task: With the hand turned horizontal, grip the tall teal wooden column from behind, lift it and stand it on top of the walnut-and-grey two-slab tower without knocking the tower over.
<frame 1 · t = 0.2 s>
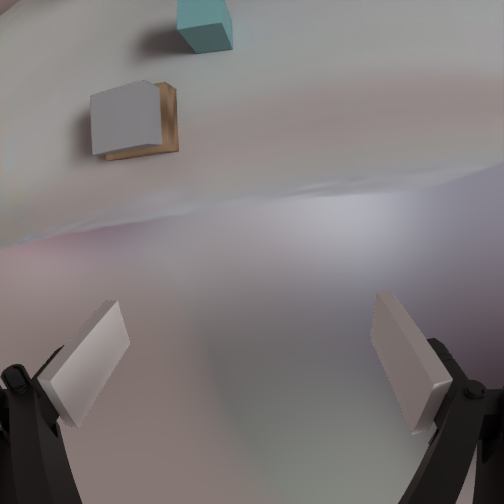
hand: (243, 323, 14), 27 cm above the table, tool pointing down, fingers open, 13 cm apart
tower base: (147, 124, 38), on the table, touching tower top
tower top: (133, 121, 33), point 4 cm above the table, touching tower base
column block: (213, 36, 33), on the table
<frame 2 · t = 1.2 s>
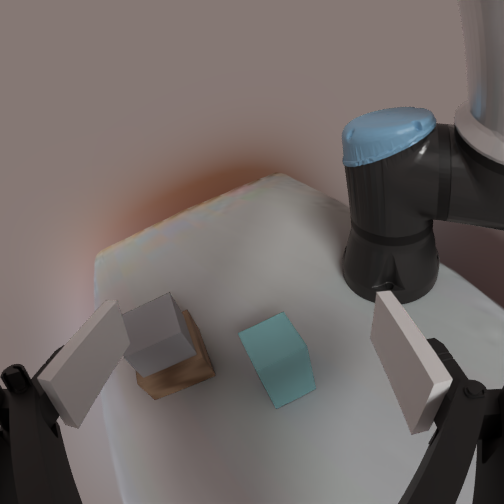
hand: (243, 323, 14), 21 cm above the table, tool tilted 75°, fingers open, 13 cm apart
tower base: (177, 363, 39), on the table, touching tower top
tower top: (164, 345, 36), point 4 cm above the table, touching tower base
column block: (286, 382, 32), on the table
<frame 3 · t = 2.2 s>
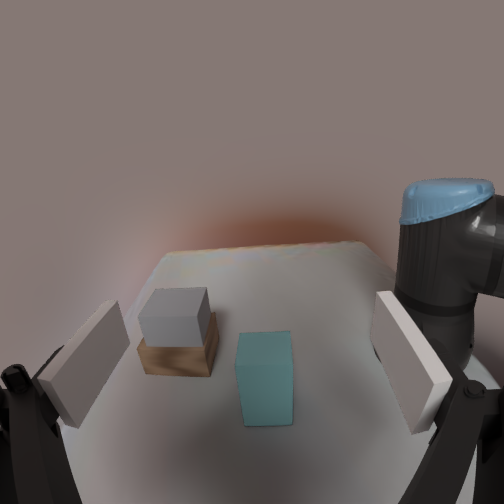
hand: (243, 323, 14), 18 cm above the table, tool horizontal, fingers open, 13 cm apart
tower base: (184, 355, 40), on the table, touching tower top
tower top: (180, 330, 39), point 4 cm above the table, touching tower base
column block: (268, 408, 30), on the table
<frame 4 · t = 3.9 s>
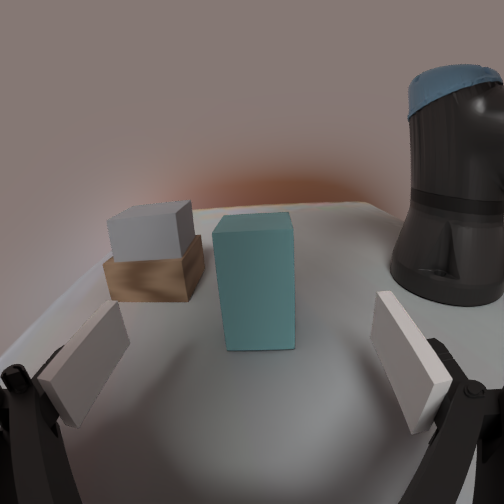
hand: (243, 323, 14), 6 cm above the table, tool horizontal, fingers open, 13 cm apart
tower base: (161, 284, 34), on the table
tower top: (157, 248, 33), point 4 cm above the table
column block: (261, 331, 24), on the table
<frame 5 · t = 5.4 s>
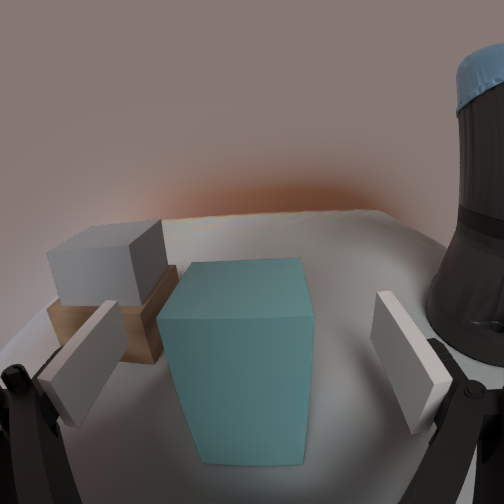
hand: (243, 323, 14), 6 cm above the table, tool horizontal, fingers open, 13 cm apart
tower base: (125, 330, 25), on the table, touching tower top
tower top: (116, 285, 24), point 4 cm above the table, touching tower base
column block: (254, 429, 14), on the table
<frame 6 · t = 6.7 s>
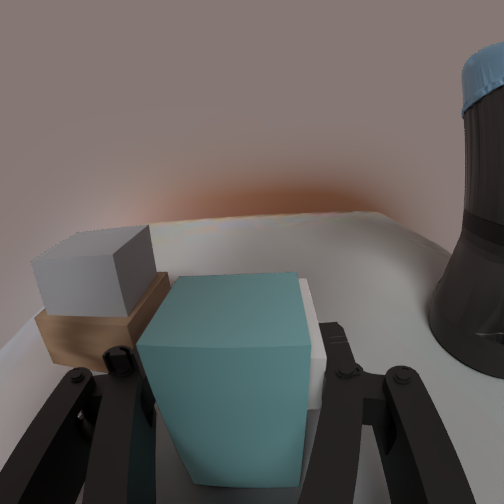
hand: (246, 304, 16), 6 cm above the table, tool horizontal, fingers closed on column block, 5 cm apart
tower base: (115, 339, 24), on the table, touching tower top
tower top: (103, 293, 22), point 4 cm above the table, touching tower base
column block: (248, 449, 13), on the table, touching gripper
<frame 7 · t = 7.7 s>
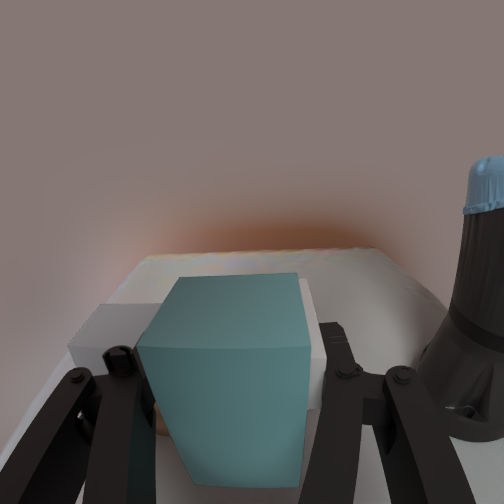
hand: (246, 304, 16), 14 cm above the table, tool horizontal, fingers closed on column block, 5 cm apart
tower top: (132, 364, 25), point 4 cm above the table, touching tower base
column block: (248, 449, 13), point 8 cm above the table, touching gripper
when the fingers open (16 cm above the table, at t = 11.1 s): column block drops 2 cm, resting on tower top.
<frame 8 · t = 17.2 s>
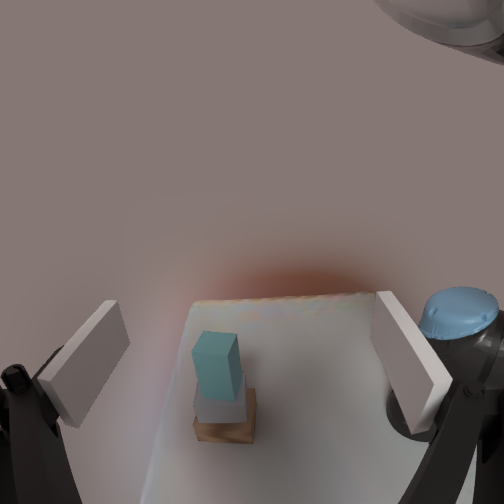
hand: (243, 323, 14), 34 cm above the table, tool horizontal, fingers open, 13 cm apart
tower base: (228, 423, 46), on the table, touching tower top
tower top: (224, 406, 44), point 4 cm above the table, touching column block, tower base
column block: (222, 388, 43), point 9 cm above the table, touching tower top
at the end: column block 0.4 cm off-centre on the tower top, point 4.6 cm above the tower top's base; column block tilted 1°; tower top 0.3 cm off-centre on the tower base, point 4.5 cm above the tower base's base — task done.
